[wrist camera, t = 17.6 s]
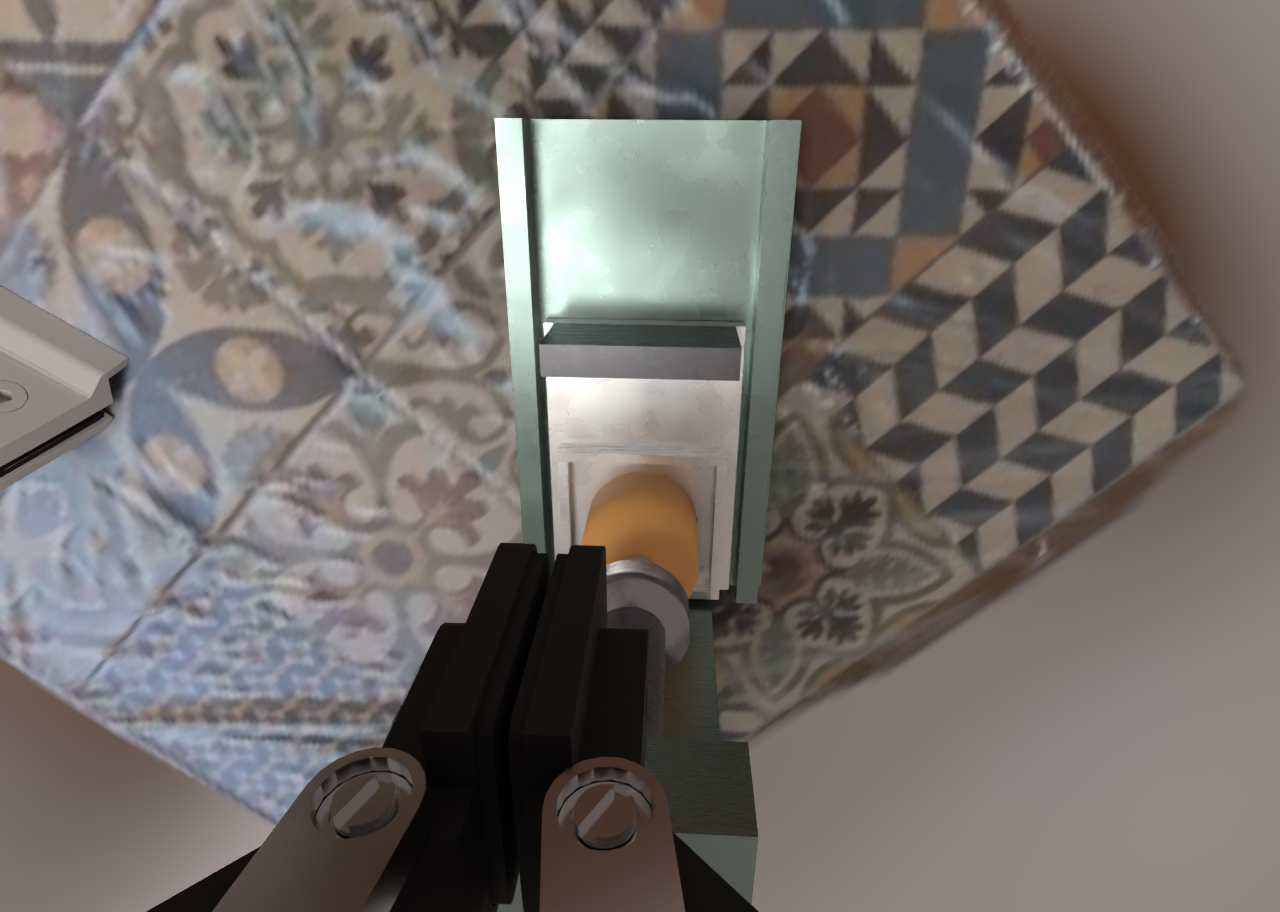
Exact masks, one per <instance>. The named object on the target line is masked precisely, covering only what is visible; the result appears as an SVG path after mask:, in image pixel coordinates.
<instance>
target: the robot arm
mask: <svg viewBox="0 0 1280 912" xmlns="http://www.w3.org/2000/svg"><path fill="white" fill-rule="evenodd" d="M648 679H649V630H646V629H617V628H607V574H606V548H605V546H590V545H571V547H570V550H569V554H557V556H556V560H555V563H554V567H553V570H552V574H551V577H550V563H549V555H548V553H537V547H536V545H535V544H522V543H500V545H499V546H498V548H497V551H496V553H495V555H494V558H493V560H492V563H491V565H490V567H489V570H488V572H487V574H486V577H485V579H484V581H483V584H482V586H481V588H480V591H479V593H478V595H477V598H476V600H475V602H474V605H473V607H472V609H471V612H470V614H469V617H468V619H467V621H466V623H444V624H442V625H441V626H440V628H439V630H438V631H437V633H436V635H435V637H434V639H433V641H432V644H431V646H430V648H429V650H428V652H427V654H426V656H425V658H424V660H423V662H422V665H421V667H420V669H419V671H418V673H417V675H416V677H415V679H414V681H413V684H412V686H411V688H410V690H409V692H408V694H407V696H406V698H405V700H404V702H403V705H402V707H401V709H400V711H399V713H398V715H397V717H396V719H395V721H394V723H393V726H392V728H391V730H390V732H389V734H388V736H387V738H386V740H385V742H384V745H383V747H382V748H370V749H365V750H360V751H356V752H353V753H351V754H349V755H346V756H344V757H341V758H339V759H337V760H336V761H334V762H333V763H331V764H330V765H328V766H327V767H325V768H324V769H322V770H321V771H320V772H319V773H318V774H317V775H316V776H315V777H314V778H313V779H312V780H311V781H310V782H309V783H308V784H307V785H306V787H305V788H304V789H303V791H302V792H301V793H300V795H299V796H298V797H297V799H296V800H295V801H294V803H293V804H292V805H291V807H290V808H289V809H288V811H287V812H286V813H285V815H284V816H283V817H282V819H281V820H280V821H279V823H278V824H277V825H276V827H275V828H274V829H273V831H272V832H271V834H270V835H269V836H268V837H267V839H266V840H265V841H264V843H263V844H262V845H261V846H260V847H259V848H257V849H255V850H254V851H252V852H250V853H248V854H247V855H245V856H243V857H241V858H239V859H238V860H236V861H234V862H233V863H231V864H229V865H227V866H226V867H224V868H222V869H220V870H218V871H217V872H215V873H213V874H211V875H210V876H208V877H206V878H204V879H203V880H201V881H199V882H197V883H196V884H194V885H192V886H190V887H189V888H187V889H185V890H183V891H182V892H180V893H178V894H176V895H175V896H173V897H171V898H170V899H168V900H166V901H164V902H163V903H161V904H159V905H157V906H155V907H154V908H152V909H150V910H149V911H147V912H497V909H498V905H499V904H507V905H511V903H512V902H513V899H514V895H515V891H516V886H517V881H518V877H519V873H520V884H521V895H522V903H523V910H524V912H758V911H757V910H756V909H755V908H754V907H753V906H752V905H751V904H750V903H749V902H748V901H747V900H746V899H744V898H743V897H742V896H741V895H740V894H739V893H738V892H737V891H736V890H735V889H734V888H733V887H732V886H731V885H729V884H728V883H727V882H726V881H725V880H724V879H723V878H722V877H721V876H720V875H719V874H718V873H717V872H716V871H714V870H713V869H712V868H711V867H710V866H709V865H708V864H707V863H706V862H705V861H704V860H703V859H702V858H700V857H699V856H698V855H697V854H696V853H695V852H694V851H693V850H692V849H691V848H690V847H689V846H688V845H687V844H685V843H684V842H683V841H682V840H681V839H680V838H679V837H678V836H677V835H676V834H675V833H674V832H673V831H672V827H671V821H670V814H669V808H668V802H667V799H666V796H665V793H664V790H663V787H662V785H661V784H660V782H659V781H658V780H657V779H656V778H655V776H654V775H653V774H652V773H651V772H650V771H649V770H647V769H645V753H646V733H647V711H648Z"/></svg>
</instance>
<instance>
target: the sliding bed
mask: <svg viewBox="0 0 1280 912" xmlns="http://www.w3.org/2000/svg"><path fill="white" fill-rule="evenodd" d="M745 332H746V326H745V323H744V322H726V321H671V320H616V319H562V318H547V319H546V320H545V322H544V338H543V339H542V341H541V342H540V344H539V352H540V371H541V377H546V384H547V404H548V425H549V446H550V466H551V487H552V507H553V528H554V549H555V560H556V556H557V554H569V550H570V547H571V545H581V542H582V538H583V534H584V530H585V526H586V522H587V518H588V514H589V510H590V506H591V503H592V500H593V498H594V497H595V495H596V493H597V492H598V491H599V490H600V488H602V487H603V486H604V485H605V484H606V483H607V482H609V481H610V480H612V479H614V478H616V477H618V476H621V475H623V474H627V473H632V472H650V473H655V474H659V475H662V476H664V477H667V478H669V479H671V480H673V481H674V482H675V483H677V484H678V485H679V486H680V487H682V488H683V489H684V491H685V492H686V493H687V494H688V496H689V497H690V499H691V501H692V503H693V505H694V508H695V512H696V520H697V545H698V578H697V583H696V585H695V588H694V590H693V592H692V594H691V595H690V597H689V598H688V599H713V600H719V590H728V588H729V573H730V558H731V543H732V528H733V513H734V498H735V483H736V468H737V453H738V438H739V423H740V407H741V392H742V377H743V362H744V347H745Z"/></svg>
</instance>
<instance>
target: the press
mask: <svg viewBox="0 0 1280 912" xmlns="http://www.w3.org/2000/svg"><path fill="white" fill-rule="evenodd" d="M494 120H495V134H496V149H497V164H498V178H499V193H500V208H501V222H502V237H503V251H504V266H505V281H506V295H507V310H508V324H509V339H510V354H511V368H512V383H513V397H514V412H515V427H516V441H517V456H518V471H519V485H520V500H521V514H522V529H523V544H535V545H536V547H537V553H548V555H549V563H550V577H551V574H552V570H553V567H554V563H555V549H554V528H553V507H552V487H551V466H550V446H549V425H548V404H547V384H546V377H541V371H540V352H539V344H540V342H541V341H542V339H543V338H544V322H545V320H546V319H547V318H562V319H616V320H671V321H726V322H744V323H745V326H746V332H745V347H744V362H743V377H742V392H741V407H740V423H739V438H738V453H737V468H736V483H735V498H734V513H733V528H732V543H731V558H730V573H729V585H734V592H735V601H736V603H747V604H757V598H758V586H761V579H762V567H763V556H764V545H765V533H766V522H767V511H768V499H769V488H770V476H771V465H772V454H773V442H774V431H775V419H776V408H777V397H778V385H779V374H780V362H781V351H782V340H783V328H784V317H785V305H786V294H787V283H788V271H789V260H790V249H791V237H792V226H793V214H794V203H795V192H796V180H797V169H798V157H799V146H800V135H801V123H802V121H799V120H766V121H765V120H593V119H523V118H494ZM688 602H689V637H690V638H689V645H688V648H687V651H686V653H685V655H684V657H683V659H682V660H681V661H680V663H679V664H678V665H677V666H676V667H675V668H674V669H672V670H671V671H670V672H668V673H666V674H665V679H664V711H663V738H646V753H645V769H647V770H649V771H650V772H651V773H652V774H653V775H654V776H655V778H656V779H657V780H658V781H659V782H660V784H661V785H662V787H663V790H664V793H665V796H666V799H667V802H668V808H669V814H670V821H671V827H672V831H673V832H674V833H675V834H676V835H677V836H678V837H679V838H680V839H681V840H682V841H683V842H684V843H685V844H687V845H688V846H689V847H690V848H691V849H692V850H693V851H694V852H695V853H696V854H697V855H698V856H699V857H700V858H702V859H703V860H704V861H705V862H706V863H707V864H708V865H709V866H710V867H711V868H712V869H713V870H714V871H716V872H717V873H718V874H719V875H720V876H721V877H722V878H723V879H724V880H725V881H726V882H727V883H728V884H729V885H731V886H732V887H733V888H734V889H735V890H736V891H737V892H738V893H739V894H740V895H741V896H742V897H743V898H744V899H746V900H747V901H748V902H749V903H750V904H751V903H752V893H753V883H754V873H755V863H756V854H757V843H758V830H757V822H756V812H755V803H754V794H753V784H752V776H751V766H750V757H749V748H748V742H733V741H720V734H719V718H718V702H717V687H716V671H715V655H714V639H713V624H712V608H711V599H688ZM497 912H524V910H523V903H522V895H521V884H520V873H519V877H518V881H517V886H516V891H515V895H514V899H513V902H512V903H511V905H507V904H499V905H498V909H497Z"/></svg>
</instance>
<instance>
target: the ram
mask: <svg viewBox="0 0 1280 912" xmlns="http://www.w3.org/2000/svg"><path fill="white" fill-rule="evenodd" d="M606 574H607V628H617V629H646V630H649V679H648V711H647V733H646V738H663V711H664V679H665V674H666V673H668V672H670V671H671V670H672V669H674V668H675V667H676V666H677V665H678V664H679V663H680V661H681V660H682V659H683V657H684V655H685V653H686V651H687V648H688V645H689V638H690V637H689V602H688V597H687V594H686V591H685V590H684V588H683V586H682V585H681V583H680V582H679V580H678V579H677V578H676V577H675V576H674V575H672V574H671V573H670V572H669V571H667V570H666V569H664V568H662V567H660V566H658V565H656V564H653V563H650V562H646V561H641V560H622V561H617V562H613V563H610V564H607V565H606Z"/></svg>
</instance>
